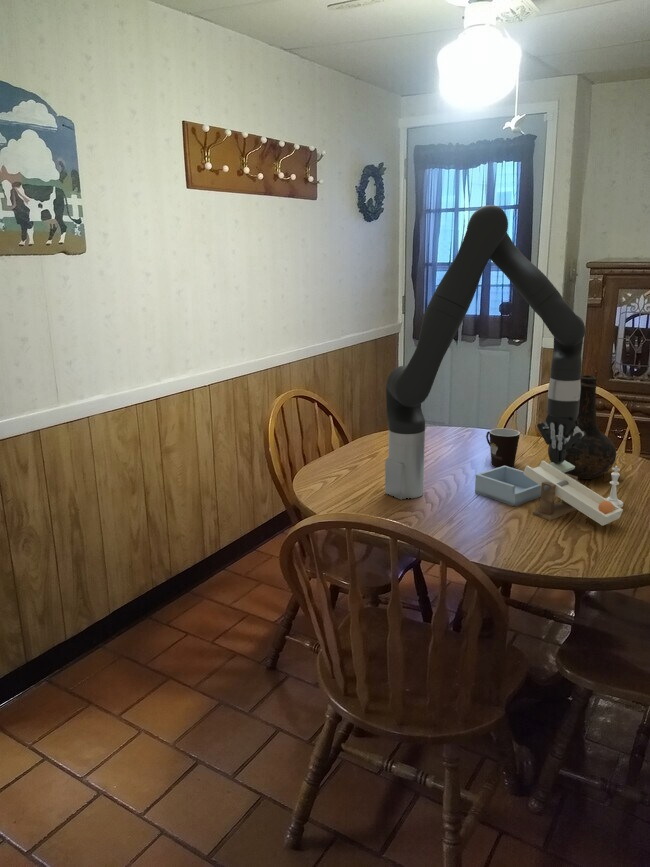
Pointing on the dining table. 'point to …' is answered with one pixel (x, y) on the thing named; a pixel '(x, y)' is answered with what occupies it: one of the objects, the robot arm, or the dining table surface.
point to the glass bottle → (589, 438)
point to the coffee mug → (503, 446)
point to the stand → (552, 502)
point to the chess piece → (614, 488)
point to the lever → (572, 490)
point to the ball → (606, 507)
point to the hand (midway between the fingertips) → (558, 462)
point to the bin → (507, 486)
